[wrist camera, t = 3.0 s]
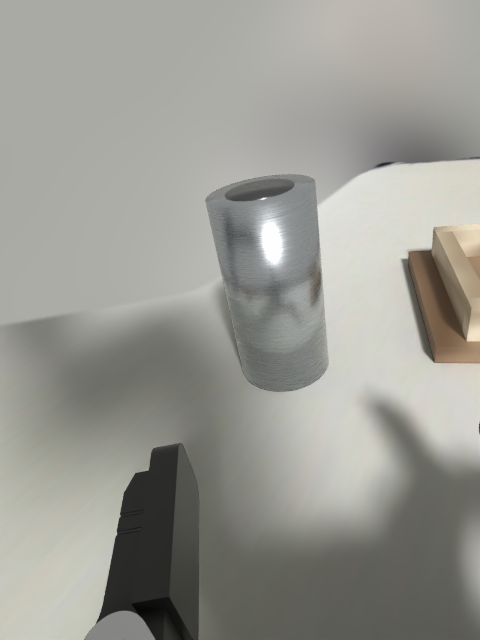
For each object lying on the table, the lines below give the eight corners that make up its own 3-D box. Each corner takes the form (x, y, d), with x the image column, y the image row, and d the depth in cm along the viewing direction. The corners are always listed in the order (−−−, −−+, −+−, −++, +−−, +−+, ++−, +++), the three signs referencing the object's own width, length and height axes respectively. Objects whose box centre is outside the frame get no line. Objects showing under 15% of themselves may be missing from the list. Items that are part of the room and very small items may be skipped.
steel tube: (233, 390, 22) (190, 212, 17) (251, 337, 26) (221, 180, 21) (326, 392, 21) (310, 199, 15) (330, 336, 25) (318, 168, 19)
